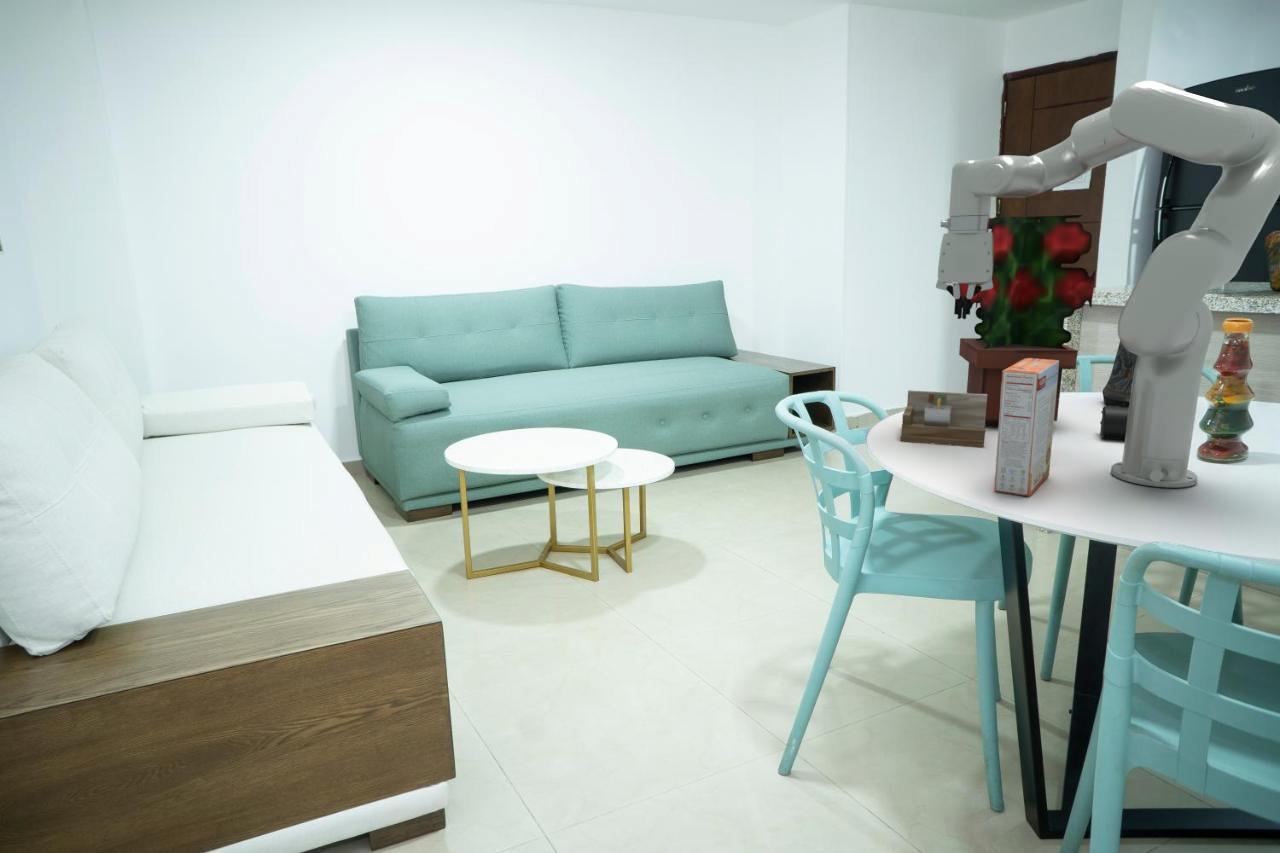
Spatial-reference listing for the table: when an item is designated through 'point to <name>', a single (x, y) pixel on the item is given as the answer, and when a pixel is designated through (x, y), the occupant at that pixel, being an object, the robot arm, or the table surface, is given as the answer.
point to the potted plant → (1027, 302)
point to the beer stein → (1120, 379)
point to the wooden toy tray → (963, 423)
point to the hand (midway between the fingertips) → (961, 318)
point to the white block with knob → (937, 415)
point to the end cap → (1114, 422)
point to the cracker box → (1026, 425)
